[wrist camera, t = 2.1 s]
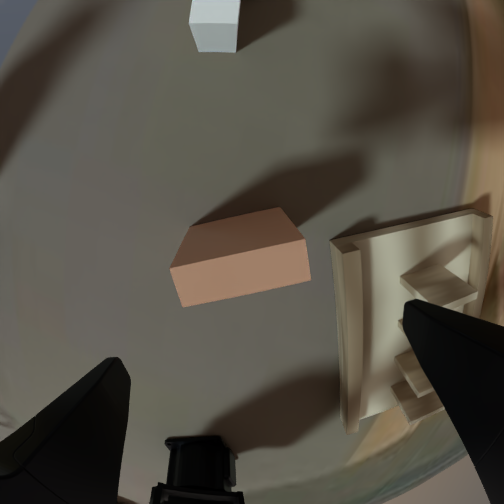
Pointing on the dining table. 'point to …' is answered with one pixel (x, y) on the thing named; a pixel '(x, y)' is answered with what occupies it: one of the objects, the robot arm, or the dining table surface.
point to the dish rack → (401, 306)
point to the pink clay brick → (239, 257)
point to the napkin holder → (215, 24)
